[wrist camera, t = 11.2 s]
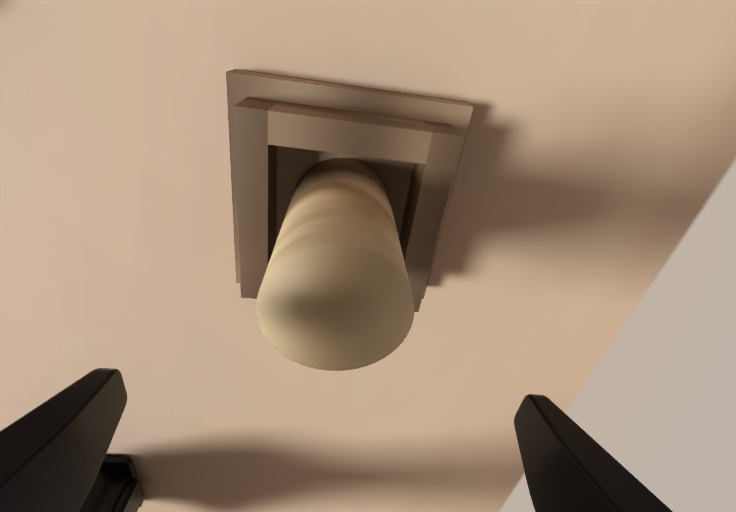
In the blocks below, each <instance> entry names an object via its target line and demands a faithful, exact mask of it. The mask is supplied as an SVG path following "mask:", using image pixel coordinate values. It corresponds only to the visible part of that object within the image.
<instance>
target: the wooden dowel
mask: <svg viewBox="0 0 736 512" xmlns="http://www.w3.org/2000/svg"><path fill="white" fill-rule="evenodd" d="M256 315H257V320H258V324H259V326H260V329H261V331H262V333H263V334H264V336H265V338H266V339H267V340H268V342H269V343H270V344H271V345H272V346H273V347H274V348H275V349H276V350H277V351H278V352H280V353H281V354H283V355H284V356H285V357H287V358H289V359H291V360H292V361H294V362H297V363H299V364H301V365H304V366H308V367H311V368H316V369H321V370H330V371H341V370H351V369H357V368H361V367H364V366H367V365H370V364H373V363H375V362H377V361H379V360H381V359H383V358H384V357H386V356H387V355H389V354H390V353H392V352H393V351H394V350H395V349H396V348H397V347H398V346H399V345H400V344H401V343H402V342H403V340H404V339H405V338H406V336H407V334H408V332H409V330H410V328H411V325H412V322H413V317H414V302H413V296H412V292H411V288H410V283H409V279H408V275H407V271H406V267H405V262H404V258H403V254H402V250H401V245H400V241H399V237H398V233H397V229H396V224H395V220H394V216H393V212H392V208H391V203H390V199H389V195H388V191H387V188H386V186H385V184H384V182H383V180H382V179H381V177H380V176H379V175H378V174H377V173H376V172H375V171H374V170H373V169H372V168H371V167H369V166H368V165H366V164H364V163H362V162H360V161H357V160H354V159H349V158H331V159H326V160H323V161H321V162H319V163H317V164H315V165H313V166H312V167H310V168H309V169H308V170H307V171H306V172H305V173H304V174H303V175H302V176H301V178H300V179H299V181H298V183H297V185H296V187H295V190H294V193H293V196H292V198H291V201H290V204H289V207H288V210H287V213H286V216H285V218H284V221H283V224H282V227H281V230H280V233H279V235H278V238H277V241H276V244H275V247H274V250H273V253H272V255H271V258H270V261H269V264H268V267H267V270H266V272H265V275H264V278H263V281H262V284H261V287H260V289H259V292H258V296H257V300H256Z"/></svg>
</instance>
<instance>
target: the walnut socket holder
mask: <svg viewBox="0 0 736 512" xmlns="http://www.w3.org/2000/svg"><path fill="white" fill-rule="evenodd" d="M226 79H227V100H228V120H229V140H230V161H231V181H232V201H233V222H234V242H235V262H236V282H237V283H241V297H243V298H255V299H257V296H258V292H259V289H260V287H261V284H262V281H263V278H264V275H265V272H266V270H267V267H268V264H269V261H270V258H271V255H272V253H273V250H274V247H275V244H276V241H277V238H278V235H279V233H280V230H281V227H282V224H283V221H284V218H285V216H286V213H287V210H288V207H289V204H290V201H291V198H292V196H293V193H294V190H295V187H296V185H297V183H298V181H299V179H300V178H301V176H302V175H303V174H304V173H305V172H306V171H307V170H308V169H309V168H310V167H312V166H313V165H315V164H317V163H319V162H321V161H323V160H326V159H331V158H349V159H354V160H357V161H360V162H362V163H364V164H366V165H368V166H369V167H371V168H372V169H373V170H374V171H375V172H376V173H377V174H378V175H379V176H380V177H381V179H382V180H383V182H384V184H385V186H386V188H387V191H388V195H389V199H390V203H391V208H392V212H393V216H394V220H395V224H396V229H397V233H398V237H399V241H400V245H401V250H402V254H403V258H404V262H405V267H406V271H407V275H408V279H409V283H410V288H411V292H412V296H413V302H414V312H419V308H420V304H421V300H422V299H424V295H425V291H426V287H427V283H428V280H429V276H430V272H431V268H432V264H433V260H434V257H435V253H436V249H437V245H438V241H439V237H440V234H441V230H442V226H443V222H444V218H445V214H446V211H447V207H448V203H449V199H450V195H451V191H452V188H453V184H454V180H455V176H456V172H457V168H458V165H459V161H460V157H461V153H462V149H463V145H464V142H465V138H466V134H467V130H468V126H469V122H470V119H471V115H472V111H473V106H471V105H469V104H468V103H466V102H460V101H453V100H446V99H439V98H432V97H425V96H418V95H411V94H404V93H397V92H390V91H383V90H376V89H369V88H362V87H355V86H347V85H340V84H333V83H326V82H319V81H312V80H305V79H298V78H291V77H284V76H277V75H270V74H263V73H256V72H249V71H242V70H235V69H234V70H231V71H228V72H226Z"/></svg>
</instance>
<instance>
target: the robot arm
mask: <svg viewBox="0 0 736 512" xmlns="http://www.w3.org/2000/svg"><path fill="white" fill-rule="evenodd" d="M126 402H127V393H126V389H125V385H124V382H123V378H122V375H121V372H120V371H119V370H118V369H110V368H98V369H95V370H93V371H91V372H90V373H88V374H87V375H85V376H84V377H82V378H81V379H79V380H78V381H76V382H74V383H73V384H71V385H70V386H68V387H67V388H65V389H64V390H62V391H61V392H59V393H58V394H56V395H55V396H53V397H52V398H50V399H49V400H47V401H46V402H44V403H43V404H41V405H40V406H38V407H36V408H35V409H33V410H32V411H30V412H29V413H27V414H26V415H24V416H23V417H21V418H20V419H18V420H17V421H15V422H14V423H12V424H11V425H9V426H8V427H6V428H5V429H3V430H2V431H0V512H137V510H138V508H139V507H141V505H142V503H143V501H144V499H143V495H142V492H141V489H140V485H139V482H138V480H137V476H136V473H135V470H134V467H133V463H132V461H131V460H130V459H129V458H126V457H106V456H105V455H106V453H107V450H108V448H109V445H110V443H111V440H112V438H113V435H114V433H115V431H116V428H117V426H118V423H119V421H120V418H121V416H122V413H123V411H124V408H125V406H126ZM514 426H515V431H516V435H517V440H518V444H519V449H520V453H521V457H522V462H523V466H524V471H525V475H526V480H527V484H528V487H529V491H530V496H531V499H532V502H533V505H534V508H535V511H536V512H672V511H671V510H670V509H669V508H668V507H667V506H666V505H665V504H663V503H662V502H661V501H660V500H659V499H658V498H657V497H656V496H655V495H654V494H653V493H651V492H650V491H649V490H648V489H647V488H646V487H645V486H644V485H643V484H641V482H639V481H638V480H637V479H636V478H635V477H634V476H633V475H632V474H631V473H630V472H628V471H627V470H626V469H625V468H624V467H623V466H622V465H621V464H620V463H618V461H617V460H615V459H614V458H613V457H612V456H611V455H610V454H609V453H608V452H606V450H604V449H603V448H602V447H601V446H600V445H599V444H598V443H597V442H596V441H595V440H593V439H592V438H591V437H590V436H589V435H588V434H587V433H586V432H585V431H584V430H583V429H581V428H580V427H579V426H578V425H577V424H576V423H575V422H574V421H573V420H572V419H570V418H569V417H568V416H567V415H566V414H565V413H564V412H563V411H562V410H561V409H560V408H558V407H557V406H556V405H555V404H554V403H553V402H552V401H551V400H550V399H549V398H547V397H546V396H544V395H534V394H528V395H526V396H525V397H524V399H523V401H522V403H521V405H520V407H519V409H518V411H517V413H516V415H515V419H514Z"/></svg>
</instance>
